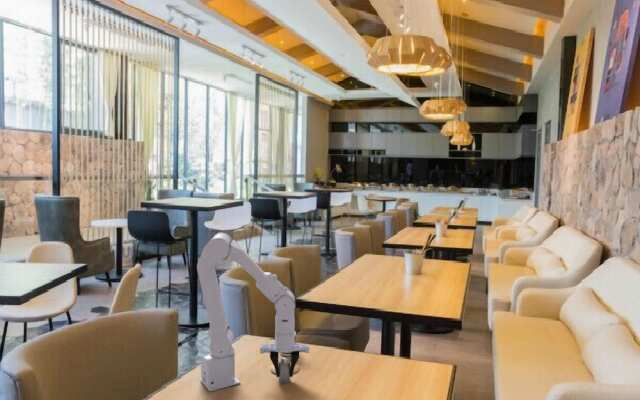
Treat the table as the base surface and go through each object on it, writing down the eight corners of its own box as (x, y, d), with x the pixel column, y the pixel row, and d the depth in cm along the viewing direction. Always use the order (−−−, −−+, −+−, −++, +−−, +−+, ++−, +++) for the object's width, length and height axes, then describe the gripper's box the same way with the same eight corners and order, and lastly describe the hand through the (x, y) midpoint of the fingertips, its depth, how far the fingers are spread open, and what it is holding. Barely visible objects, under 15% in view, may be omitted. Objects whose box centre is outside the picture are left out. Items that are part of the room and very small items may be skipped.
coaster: (278, 377, 152) (278, 376, 152) (265, 366, 160) (265, 365, 159) (304, 370, 157) (304, 369, 157) (289, 360, 164) (289, 359, 164)
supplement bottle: (295, 356, 168) (295, 328, 167) (279, 356, 168) (279, 328, 167) (296, 350, 173) (296, 322, 172) (281, 349, 173) (281, 322, 172)
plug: (282, 384, 148) (282, 362, 147) (276, 379, 151) (276, 358, 150) (292, 381, 150) (292, 359, 149) (286, 377, 153) (286, 355, 152)
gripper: (308, 326, 153) (308, 369, 154) (261, 326, 152) (260, 369, 154) (309, 335, 146) (309, 379, 147) (259, 335, 145) (259, 380, 147)
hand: (284, 375), depth 150 cm, fingers closed on plug, 3 cm apart
